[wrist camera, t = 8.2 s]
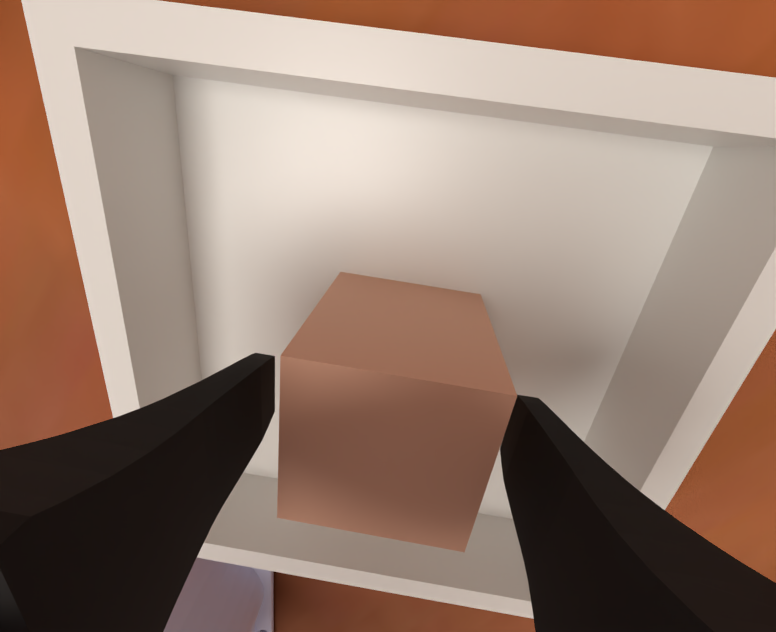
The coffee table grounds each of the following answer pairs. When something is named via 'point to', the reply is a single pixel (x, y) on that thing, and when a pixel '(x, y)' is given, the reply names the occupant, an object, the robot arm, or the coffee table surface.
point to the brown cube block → (392, 412)
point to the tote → (413, 235)
